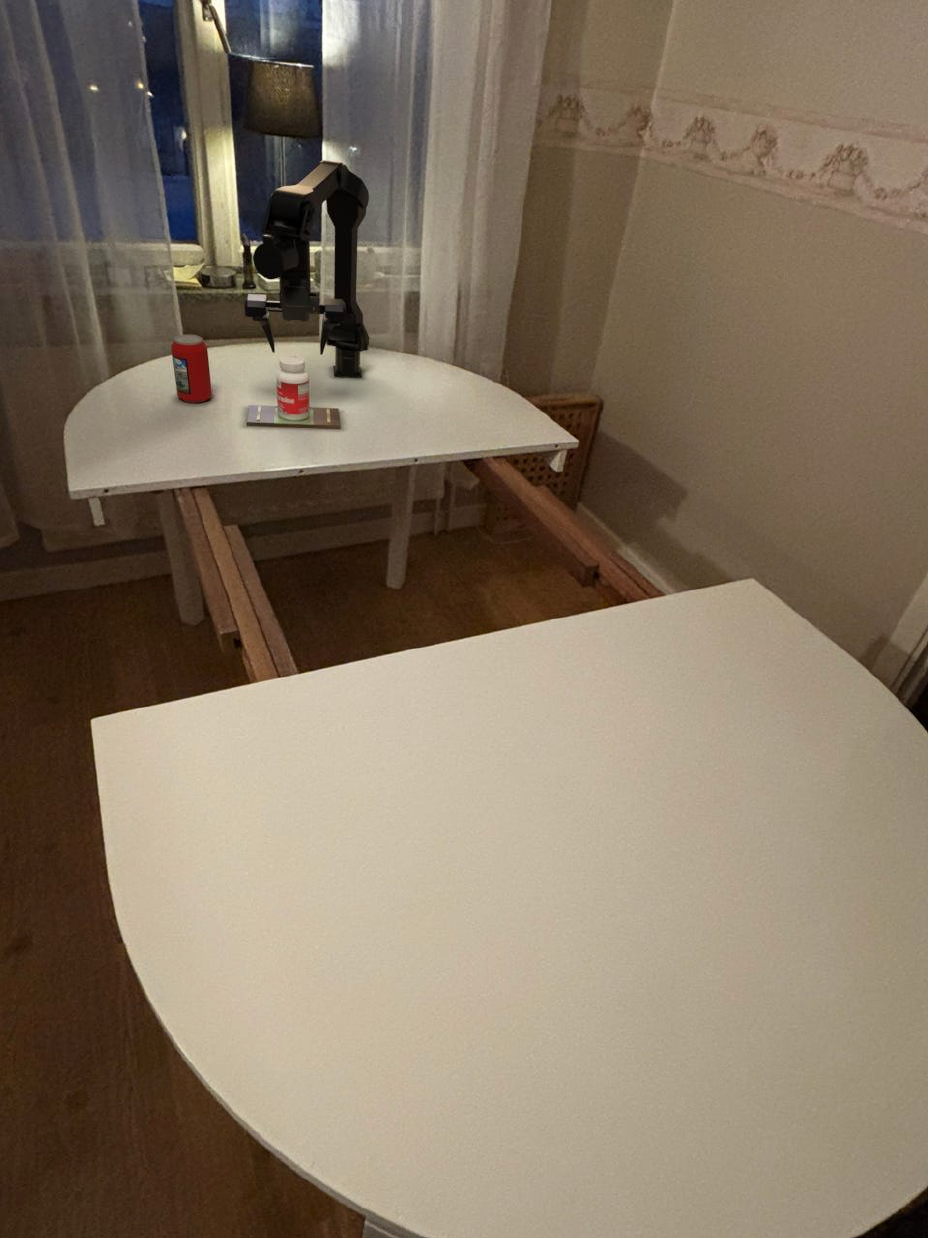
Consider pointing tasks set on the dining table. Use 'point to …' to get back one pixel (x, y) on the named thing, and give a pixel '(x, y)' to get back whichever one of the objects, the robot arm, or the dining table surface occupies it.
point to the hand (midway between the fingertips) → (297, 353)
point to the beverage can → (191, 368)
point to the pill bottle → (292, 389)
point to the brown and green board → (271, 418)
